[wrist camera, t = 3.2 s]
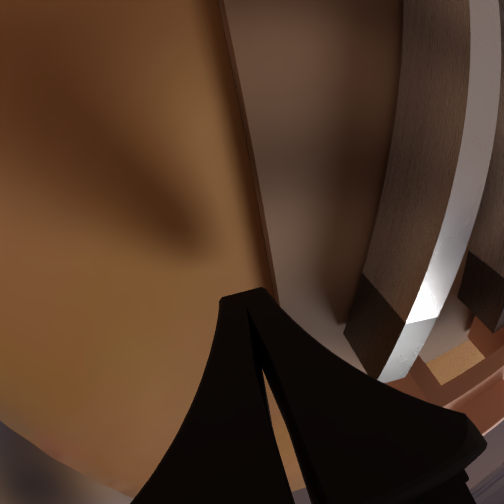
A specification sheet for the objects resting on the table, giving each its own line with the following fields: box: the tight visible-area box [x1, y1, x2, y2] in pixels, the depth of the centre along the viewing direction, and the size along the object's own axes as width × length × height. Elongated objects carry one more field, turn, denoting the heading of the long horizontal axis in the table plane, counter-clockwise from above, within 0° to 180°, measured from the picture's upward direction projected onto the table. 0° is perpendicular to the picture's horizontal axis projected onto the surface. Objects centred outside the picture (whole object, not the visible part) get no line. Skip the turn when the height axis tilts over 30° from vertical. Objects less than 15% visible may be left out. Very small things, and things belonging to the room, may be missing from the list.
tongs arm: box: [343, 0, 501, 383], centre depth 8 cm, size 14×2×3 cm, turn 175°
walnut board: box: [218, 0, 475, 375], centre depth 10 cm, size 25×14×1 cm, turn 10°
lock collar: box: [385, 316, 504, 436], centre depth 12 cm, size 3×8×6 cm, turn 100°
